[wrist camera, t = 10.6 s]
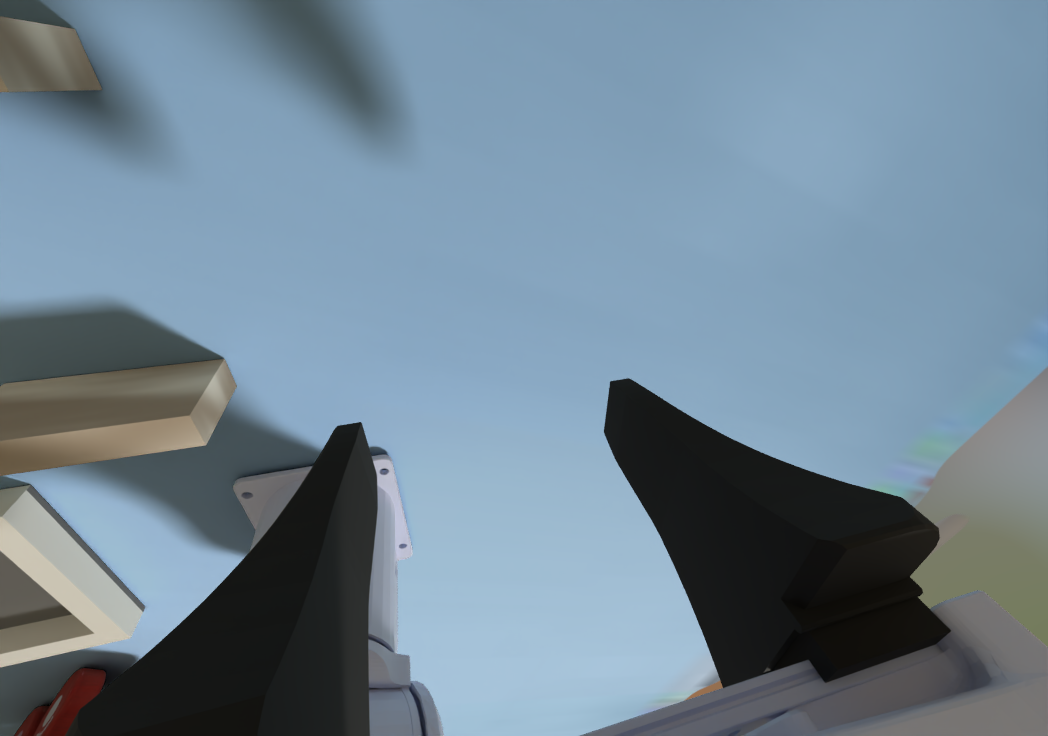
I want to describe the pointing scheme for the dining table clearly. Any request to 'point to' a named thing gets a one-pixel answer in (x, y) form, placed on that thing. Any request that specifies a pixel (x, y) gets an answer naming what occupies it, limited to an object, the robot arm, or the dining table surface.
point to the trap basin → (54, 585)
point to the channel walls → (110, 397)
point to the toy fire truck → (64, 705)
